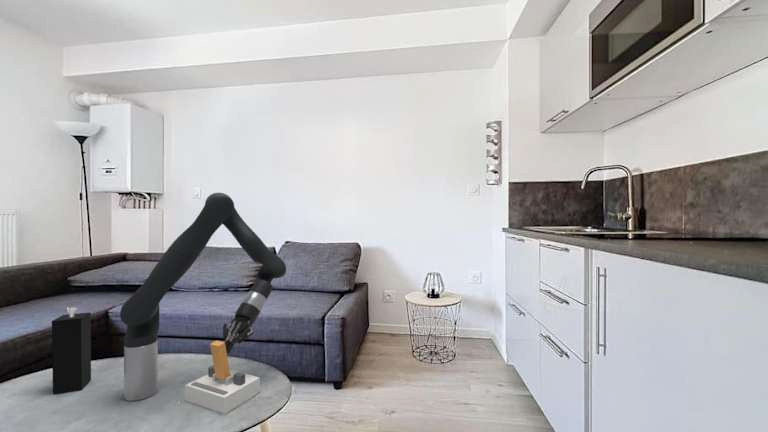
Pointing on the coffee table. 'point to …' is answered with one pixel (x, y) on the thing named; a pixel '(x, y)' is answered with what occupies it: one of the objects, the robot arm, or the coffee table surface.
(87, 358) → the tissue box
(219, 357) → the breaker handle
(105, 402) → the coffee table surface
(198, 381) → the white slotted plate
